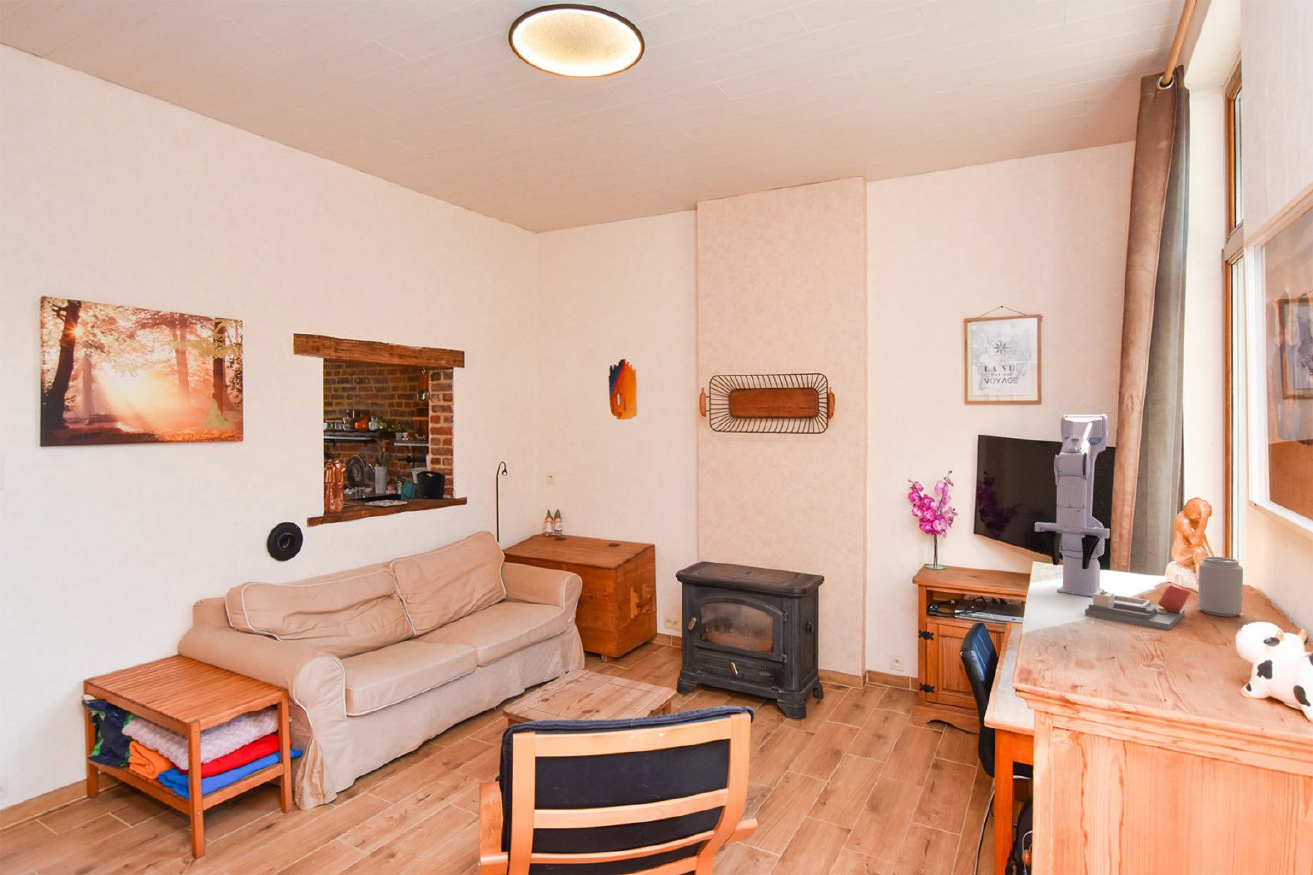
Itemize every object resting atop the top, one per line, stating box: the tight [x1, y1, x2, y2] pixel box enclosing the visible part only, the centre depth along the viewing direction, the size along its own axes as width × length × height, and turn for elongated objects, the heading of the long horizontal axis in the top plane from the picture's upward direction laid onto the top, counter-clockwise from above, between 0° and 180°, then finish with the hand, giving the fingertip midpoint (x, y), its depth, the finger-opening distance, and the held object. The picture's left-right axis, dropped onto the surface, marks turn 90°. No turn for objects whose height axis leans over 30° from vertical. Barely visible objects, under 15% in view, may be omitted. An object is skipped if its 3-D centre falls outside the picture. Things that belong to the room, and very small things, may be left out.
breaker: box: [1092, 590, 1115, 608], centre depth 153 cm, size 4×3×3 cm
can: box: [1197, 556, 1244, 618], centre depth 154 cm, size 8×8×12 cm
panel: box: [1084, 594, 1185, 631], centre depth 152 cm, size 15×15×3 cm
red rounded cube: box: [1158, 582, 1191, 613], centre depth 150 cm, size 4×4×5 cm
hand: (1070, 566), depth 158 cm, fingers open, 5 cm apart
